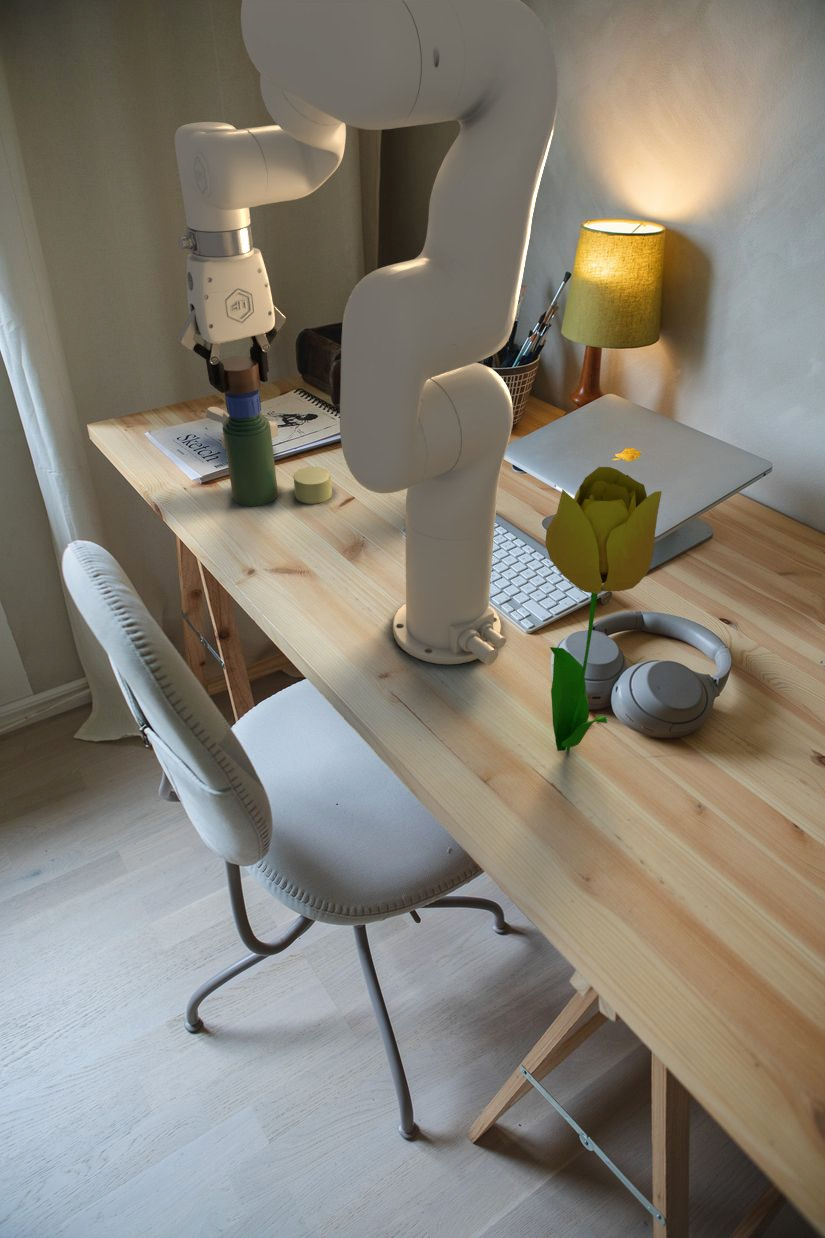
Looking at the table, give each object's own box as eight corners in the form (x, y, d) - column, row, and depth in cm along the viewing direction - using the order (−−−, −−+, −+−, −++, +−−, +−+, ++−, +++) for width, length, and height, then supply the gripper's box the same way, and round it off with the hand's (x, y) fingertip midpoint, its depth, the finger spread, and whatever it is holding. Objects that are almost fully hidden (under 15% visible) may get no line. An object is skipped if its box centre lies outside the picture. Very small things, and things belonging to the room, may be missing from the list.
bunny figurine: (231, 443, 127) (197, 398, 136) (234, 471, 130) (201, 426, 139) (288, 429, 130) (251, 387, 139) (289, 457, 134) (253, 414, 143)
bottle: (286, 497, 122) (275, 398, 112) (245, 511, 118) (231, 410, 109) (264, 480, 126) (252, 382, 116) (225, 492, 123) (209, 394, 113)
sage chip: (338, 496, 122) (337, 477, 120) (307, 507, 119) (305, 488, 117) (319, 482, 125) (318, 463, 123) (288, 492, 123) (286, 473, 121)
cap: (267, 412, 114) (264, 393, 112) (236, 421, 111) (234, 401, 110) (251, 401, 117) (249, 382, 115) (221, 409, 114) (218, 390, 113)
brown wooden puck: (267, 387, 111) (265, 364, 109) (231, 397, 109) (228, 374, 107) (249, 375, 115) (246, 352, 113) (213, 384, 112) (210, 361, 110)
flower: (627, 752, 82) (690, 484, 63) (576, 796, 77) (628, 522, 59) (558, 708, 87) (598, 447, 68) (507, 747, 82) (535, 479, 64)
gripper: (167, 259, 94) (193, 409, 105) (298, 236, 102) (309, 378, 113) (142, 245, 99) (169, 390, 110) (268, 225, 107) (282, 362, 118)
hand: (240, 382), depth 111 cm, fingers closed on brown wooden puck, 5 cm apart
